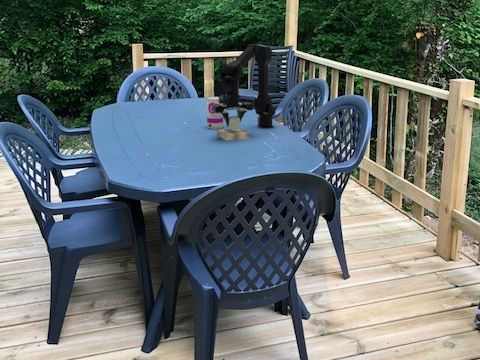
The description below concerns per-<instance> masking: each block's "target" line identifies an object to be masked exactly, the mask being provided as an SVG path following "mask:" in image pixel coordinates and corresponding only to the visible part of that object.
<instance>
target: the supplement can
mask: <svg viewBox="0 0 480 360" xmlns="http://www.w3.org/2000/svg"><path fill="white" fill-rule="evenodd" d="M219 97H220V96H210V97H207V100H206V127H207V128H208V129H210V130H222V129H223V128H224V117H223V115H222V114H221V113H215V112H213V111H212V106H213V105H222V106H223V104H219Z"/></svg>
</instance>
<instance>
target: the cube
mask: <svg viewBox="0 0 480 360" xmlns="http://www.w3.org/2000/svg"><path fill="white" fill-rule="evenodd" d="M225 128H226V129H230V130H232V129H240V128H241V122H240V118H239V117H237V115H234V116H229V125H228V127H227V125H226V124H225Z"/></svg>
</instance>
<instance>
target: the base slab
mask: <svg viewBox="0 0 480 360" xmlns="http://www.w3.org/2000/svg"><path fill="white" fill-rule="evenodd" d="M216 136H217V137H219V138H220V139H222V140H223V141H225V142H228V141H229V140H230V141H240V140H247V139H249V138H250V137H251V133H250V132H248V131H246V130H245V129H244V128H241V127H240V129H232V130H230V129H228V128H226V129H225V128H224V129H216Z"/></svg>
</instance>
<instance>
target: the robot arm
mask: <svg viewBox="0 0 480 360" xmlns="http://www.w3.org/2000/svg"><path fill="white" fill-rule="evenodd" d="M272 55H273V51H272V48H271V47H270V46H263V45H259V44H257V43H255V44H254V43H249V44H247V46H246V48H244V50H243V51H242V52H241V54H239V55H238V56H237V58H236V59H234V60H232V61H230V62H228V63H227V64H225V65H224V66H223V70H222V72H221V74H220V77H219V79H217V80H216V82H215V83H214V86H213V92H214V93H215V94H216V96H217V97H219V104H223V106H222V105H213V106H212V111H213V112H215V113H221V114H222V115H223V121H224V123H225V126H226V125H227V127H228V125H229V117H230V116H229V114H230V113H229V112H228V111H232V110H233V111H234V110H236V113H237V115H236V116H237V117H239V118H240V123H241V122H242V119H243V118H244V115H245V114H246V113H247V112H248V111H253V110H255V114H256V115H258V117H257V127H259V128H261V129H265V128H274V127H275V126H274V125H273V116H275V115H276V111H277V110H276V109H275V107H274V106H273V103H272V101H273V100H272V98H271V97H270V95H269V64H270V62H271V61H272ZM253 57H254V61H255V62H256V64H257V89H258V90H257V91H258V93H257V96H256V97H255V98H254V99H253V101H254V104H253V103H251V102H249V101H248V102H247V101H246V102H241V103H240V98H241V97H240V96H241V95H240V93H239V92H240V89H239V88H240V85H239V84H240V82H242V79H241V78H240V77H241V75H242V74H243V72H244V67H245V66H246V65H247V64H248V63H249V61H250V60H252V59H253ZM223 95H225V97H224V96H223Z"/></svg>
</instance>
